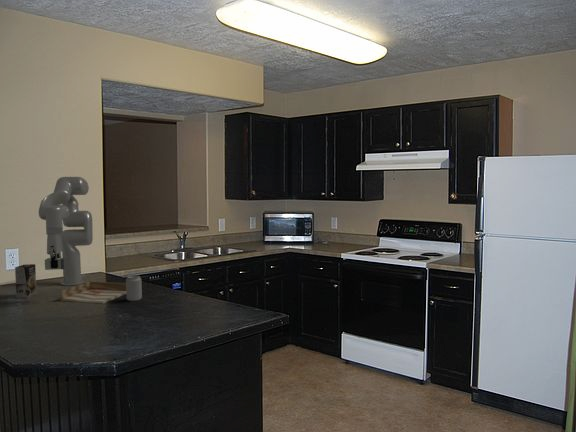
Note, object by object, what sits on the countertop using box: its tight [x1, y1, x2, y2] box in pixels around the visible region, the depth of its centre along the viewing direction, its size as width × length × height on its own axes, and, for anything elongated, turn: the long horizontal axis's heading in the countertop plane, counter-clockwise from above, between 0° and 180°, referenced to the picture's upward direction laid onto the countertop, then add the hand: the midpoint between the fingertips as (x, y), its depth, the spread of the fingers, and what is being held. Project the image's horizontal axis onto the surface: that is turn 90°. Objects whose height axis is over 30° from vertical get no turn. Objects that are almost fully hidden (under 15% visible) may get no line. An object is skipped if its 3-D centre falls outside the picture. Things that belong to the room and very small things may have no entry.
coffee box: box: [14, 263, 38, 299], centre depth 266 cm, size 9×6×16 cm
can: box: [125, 275, 143, 302], centre depth 256 cm, size 8×8×12 cm
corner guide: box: [59, 281, 126, 304], centre depth 264 cm, size 24×24×5 cm
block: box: [44, 257, 67, 271], centre depth 256 cm, size 5×9×5 cm, turn 99°
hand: (56, 266), depth 256 cm, fingers closed on block, 5 cm apart
